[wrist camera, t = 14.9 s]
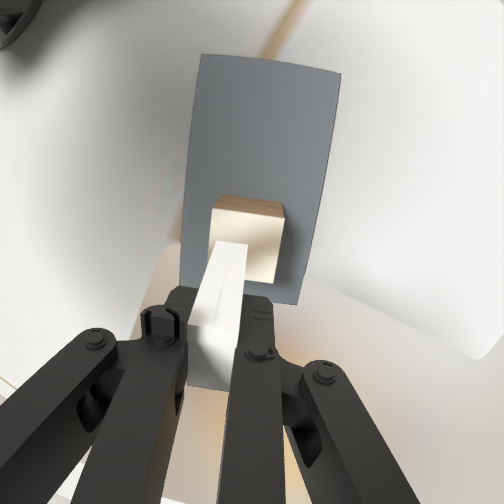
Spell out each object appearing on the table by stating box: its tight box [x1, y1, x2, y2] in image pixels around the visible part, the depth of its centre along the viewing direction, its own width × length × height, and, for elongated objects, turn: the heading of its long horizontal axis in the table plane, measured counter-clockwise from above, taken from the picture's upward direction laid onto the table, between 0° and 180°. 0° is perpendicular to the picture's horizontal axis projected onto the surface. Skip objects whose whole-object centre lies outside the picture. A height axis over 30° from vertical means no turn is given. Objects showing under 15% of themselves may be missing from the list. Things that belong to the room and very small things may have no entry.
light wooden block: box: [207, 194, 285, 284], centre depth 34 cm, size 7×7×7 cm
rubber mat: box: [179, 54, 341, 305], centre depth 36 cm, size 30×16×1 cm, turn 172°
